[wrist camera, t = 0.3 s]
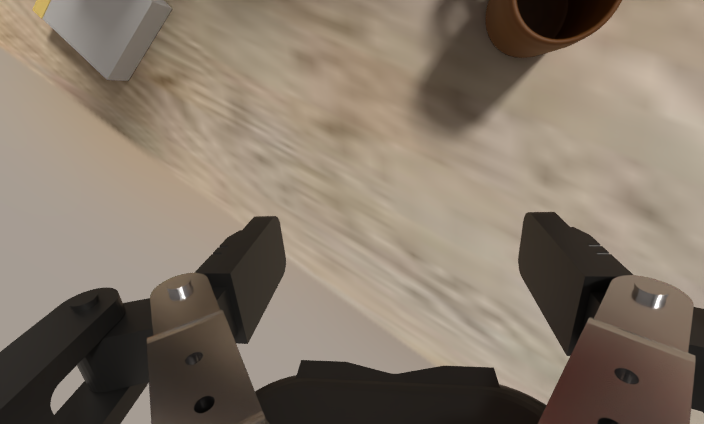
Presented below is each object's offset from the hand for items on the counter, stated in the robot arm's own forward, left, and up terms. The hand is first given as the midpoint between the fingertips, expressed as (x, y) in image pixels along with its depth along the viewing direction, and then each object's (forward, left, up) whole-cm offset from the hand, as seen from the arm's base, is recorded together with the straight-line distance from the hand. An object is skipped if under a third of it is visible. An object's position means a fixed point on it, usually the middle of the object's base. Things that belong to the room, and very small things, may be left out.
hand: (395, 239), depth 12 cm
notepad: (-13, -32, -28) cm, 45 cm away
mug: (-13, +10, -28) cm, 32 cm away
